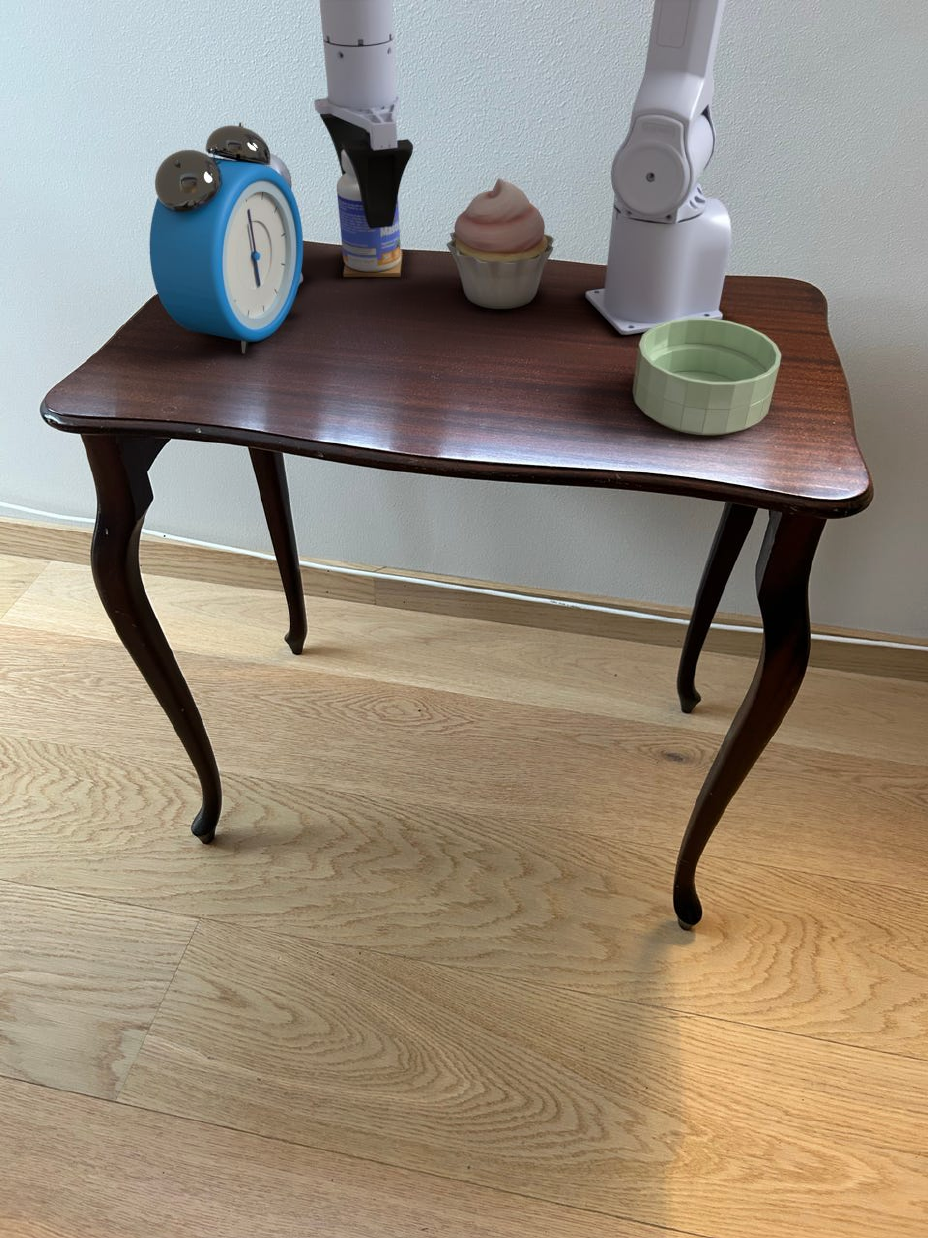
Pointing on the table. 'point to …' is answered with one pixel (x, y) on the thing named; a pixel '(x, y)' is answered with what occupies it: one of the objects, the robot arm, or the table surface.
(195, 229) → the alarm clock
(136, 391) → the table surface
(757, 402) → the bowl
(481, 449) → the table surface
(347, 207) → the pill bottle
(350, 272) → the coaster
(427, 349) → the table surface
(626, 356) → the table surface
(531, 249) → the cupcake
